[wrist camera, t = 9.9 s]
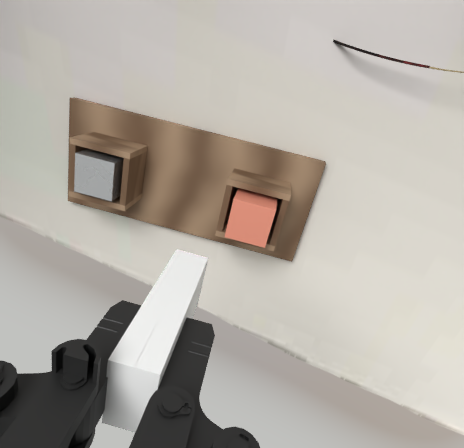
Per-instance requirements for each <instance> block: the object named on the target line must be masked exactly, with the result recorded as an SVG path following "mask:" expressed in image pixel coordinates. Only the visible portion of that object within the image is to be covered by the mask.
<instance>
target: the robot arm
mask: <svg viewBox="0 0 464 448" xmlns="http://www.w3.org/2000/svg"><path fill="white" fill-rule="evenodd" d="M207 261H208V257H204V256H200V255H197V254H193V253H189V252H186V251H182V250H178V249H176V251H175V253H174V254H173V256H172V257H171V259H170V261H169V262H168V264H167V265H166V267H165V269H164V270H163V272H162V274H161V275H160V277H159V278H158V280H157V282H156V283H155V285H154V286H153V288H152V290H151V291H150V293H149V294H148V296H147V298H146V299H145V301H144V303H143V304H142V306H141V305H137V304H134V303H130V302H127V301H121V302H119V303H117V304H116V305H114V306H112V307H111V308H110V309H109V311H108V312H107V313H106V315H105V316H104V317H103V319H102V320H101V321H100V323H99V324H98V325H97V328H95V329H94V331H93V332H92V333H91V335H90V336H89V337H88V339H87V340H82V339H77V340H70V341H67V342H64V343H62V344H60V345H58V346H57V347H56V348H55V349H54V350H52V371H51V372H47V373H34V374H17V372H16V368H15V367H14V366H13V365H12V364H11V363H7V362H5V361H0V448H89V447H90V445H91V443H92V441H93V438H94V434H95V427H96V425H97V423H98V421H99V419H100V418H101V416H102V414H103V418H102V423H105V424H108V425H112V426H115V427H118V428H122V429H125V430H129V431H132V432H135V435H134V437H133V440H132V442H131V445H130V447H129V448H260V446H259V443H258V442H257V441H256V439H255V438H254V437H253V435H252V434H250V433H249V432H247V431H246V430H244V429H242V428H237V427H230V428H225V429H224V430H223V429H221V428H220V427H219V426H217V425H216V424H214V423H213V422H212V421H210V420H209V419H208V418H207V417H206V416H205V414H204V413H203V411H202V409H201V406H200V402H199V395H200V390H201V386H202V382H203V378H204V374H205V371H206V367H207V363H208V359H209V355H210V351H211V347H212V344H213V339H214V336H215V335H214V331H213V327H212V324H209V323H205V322H202V321H198V320H194V319H192V318H193V315H194V313H195V310H196V307H197V305H198V300H199V296H200V292H201V287H202V283H203V279H204V274H205V270H206V266H207Z"/></svg>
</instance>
